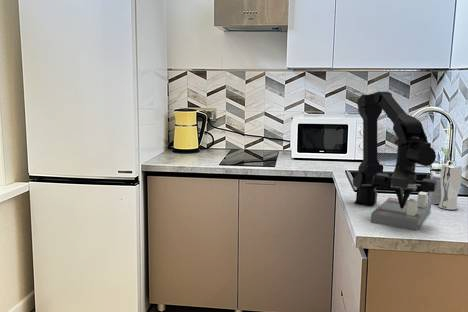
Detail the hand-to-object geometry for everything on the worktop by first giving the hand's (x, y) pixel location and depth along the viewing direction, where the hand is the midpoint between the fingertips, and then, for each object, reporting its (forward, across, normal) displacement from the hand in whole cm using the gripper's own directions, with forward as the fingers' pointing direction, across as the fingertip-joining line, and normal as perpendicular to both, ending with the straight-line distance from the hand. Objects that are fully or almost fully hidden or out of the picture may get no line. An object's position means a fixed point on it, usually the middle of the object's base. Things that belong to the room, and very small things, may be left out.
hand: (402, 208), depth 147 cm
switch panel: (+5, -1, +6) cm, 8 cm away
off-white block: (+1, +4, +12) cm, 13 cm away
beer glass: (+4, +10, +27) cm, 29 cm away
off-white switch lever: (+1, +3, 0) cm, 3 cm away
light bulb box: (+5, +6, +35) cm, 36 cm away
